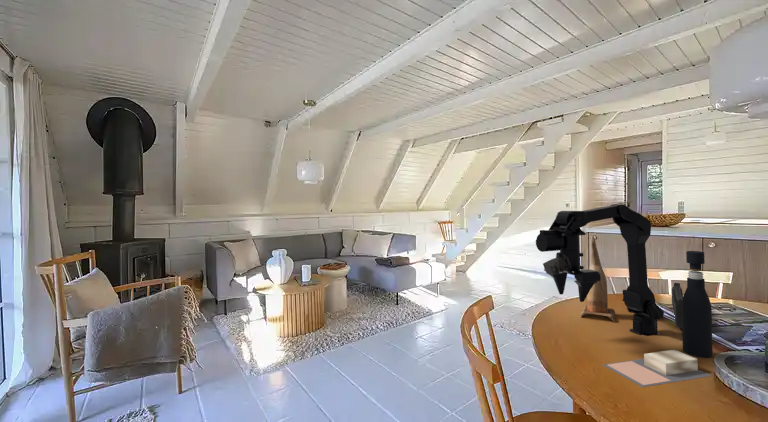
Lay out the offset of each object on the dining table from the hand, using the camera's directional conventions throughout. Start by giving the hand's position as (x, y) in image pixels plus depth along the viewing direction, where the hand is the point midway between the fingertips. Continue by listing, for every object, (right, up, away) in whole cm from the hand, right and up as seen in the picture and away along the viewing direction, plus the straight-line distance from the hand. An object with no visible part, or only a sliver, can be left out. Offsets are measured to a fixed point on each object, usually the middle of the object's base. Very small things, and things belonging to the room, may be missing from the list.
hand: (571, 297), depth 111 cm
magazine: (+50, -13, +18) cm, 55 cm away
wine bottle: (+31, -14, -11) cm, 35 cm away
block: (+16, -14, -19) cm, 29 cm away
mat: (+11, -15, -20) cm, 27 cm away
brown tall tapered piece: (+24, -14, +24) cm, 36 cm away
